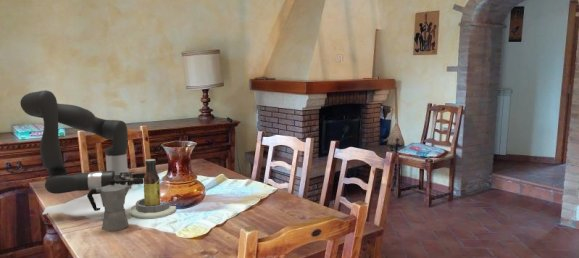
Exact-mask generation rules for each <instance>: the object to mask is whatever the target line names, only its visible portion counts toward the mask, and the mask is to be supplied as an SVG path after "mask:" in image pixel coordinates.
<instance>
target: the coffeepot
mask: <svg viewBox="0 0 579 258" xmlns="http://www.w3.org/2000/svg"><path fill="white" fill-rule="evenodd" d="M114 182H115V180H110V183H111V185H108V186H104V187H101V188H97V189H91V190H89V191H88V193H87V194H86V197H87V199H88V201H89V203H90V205H91V207H92V209H93V211H95V212H97V211H101V207H97V204H96V201H95V199H94V197H93V195H100V199H101V203H102V206H103V208H104V211H103V218H102V219H103V220H102V226H101V228H102V230H104V231H106V232H116V231H117V232H118V231H122V230H124V229H126V228H127V227H128V226H129V220H128V217H127V216H128V215H127V212H126V209H125V207H124V206H125V204H126V203H125V202H126V196H127V194H128V193H129V191H130V189H131V188H132V186H130V185H121V184H114Z"/></svg>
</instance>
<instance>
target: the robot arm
mask: <svg viewBox="0 0 579 258" xmlns="http://www.w3.org/2000/svg"><path fill="white" fill-rule="evenodd" d="M20 108H21V110H22V111H23V112H24V113H25V114H27V115H28V116H31V117H35V118H41V119H42V122H43V131H42V136H41V139H40V143H39V153H40V157H41V163H42V166H43V168H44V169H46V171H47V174H48V178H47V179H46V180H45V182H44V188H45V190H46V191H47V192H49V193H51V194H56V195H58V194H65V193H66V194H67V193H72V192H79V191H80V192H83V191H86V192H87V191H90V190H91V189H97V188H101V187H104V186H108V185H111V183H110V180H115V182H114V184H121V185H130V186H131V187H132V186H134V185H144V175H145V173H146V172H135V171H130V168H129V167H128V155H127V154H128V153H127V149H128V145H129V143H128V142H129V141H128V127H127V123H126V122H125V121H123V120H118V119H117V120H115V119H106V118H105V119H104V118H100V117H97V116H95V114H94V113H93V112H92V111H90V110H88V109H86V108H83V107H81V106H78V105H75V104H74V105H73V104H66V103H58V101H57V98H56V95H55V94H54V93H53V92H52V91H50V90H47V89H45V90H38V91H34V92H33V91H32V92H29V93H27V94H25V95H23V96H22V98H21V99H20ZM59 124H62V125H64V126H67V127H69V128H70V127H71V128H72V129H75V130H79V131H83V132H88V133H93V134H94V135H97V136H99V137H100V138H103V139H105V140H111V141H112V145H111V146H108V147H107V148H105V152H104V153H105V164H106V170H102V171H101V170H99V171H93V172H91V171H90V172H78V173H75V174H68V172H67V171H68V170H67V169H66V168H67V167H65V164H64V160H63V155H62V150H61V145H60V137H59Z"/></svg>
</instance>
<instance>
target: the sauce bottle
mask: <svg viewBox="0 0 579 258" xmlns="http://www.w3.org/2000/svg"><path fill="white" fill-rule="evenodd" d="M144 161H145V170H146V171H145V172H144V173H145V175H144V179H143V181H144V183H143V192H144V193H143V198H144V201H145V206H156V205H160V197H161V183H160V182H161V181H160V180H161V179H160V177H159V174H158V172H157V166H156V165H157V161H156V159H154V158H149V159H145V160H144Z"/></svg>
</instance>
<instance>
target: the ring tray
mask: <svg viewBox="0 0 579 258" xmlns="http://www.w3.org/2000/svg"><path fill="white" fill-rule="evenodd" d="M176 210H177V206H170V205H169V202H168V201H166V203H163V204H161V205H156V206H145V201H144V197H143V198H141V199H138V200H136V202H135V205H133V206H131V207H130V209H129V214H131V215H130V216H131V217H133V218H136V219H139V220H140V219H141V220H147V219H148V220H151V219H158V218H163V217H167V216H170V215H172V214H174V213H175V212H176Z"/></svg>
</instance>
